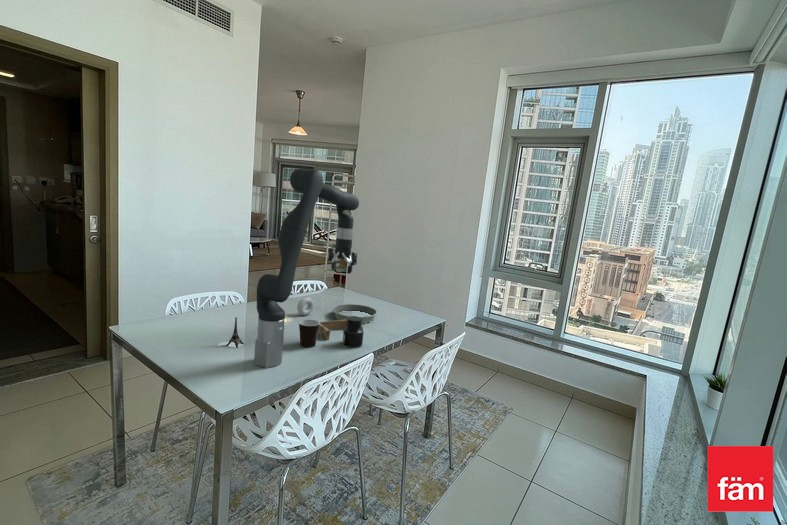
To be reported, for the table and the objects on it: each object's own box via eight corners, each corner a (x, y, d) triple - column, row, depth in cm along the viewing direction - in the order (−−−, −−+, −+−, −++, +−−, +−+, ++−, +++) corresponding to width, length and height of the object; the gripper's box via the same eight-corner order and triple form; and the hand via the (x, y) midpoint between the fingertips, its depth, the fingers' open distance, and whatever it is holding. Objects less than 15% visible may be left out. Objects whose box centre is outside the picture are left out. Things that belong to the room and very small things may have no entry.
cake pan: (370, 311, 221) (370, 304, 220) (382, 325, 198) (382, 317, 197) (328, 311, 213) (329, 303, 212) (335, 325, 190) (336, 316, 189)
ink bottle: (350, 338, 173) (352, 313, 171) (366, 343, 169) (369, 318, 167) (337, 344, 164) (340, 318, 162) (354, 350, 160) (357, 323, 158)
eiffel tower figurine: (249, 339, 162) (251, 309, 160) (257, 347, 154) (259, 316, 152) (212, 344, 152) (213, 312, 150) (218, 353, 144) (219, 320, 142)
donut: (299, 317, 195) (300, 299, 193) (295, 316, 197) (296, 297, 195) (314, 314, 202) (316, 297, 201) (310, 313, 204) (312, 295, 203)
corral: (362, 335, 178) (363, 326, 178) (326, 340, 168) (327, 330, 167) (350, 327, 188) (350, 318, 187) (315, 331, 178) (316, 322, 177)
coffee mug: (313, 350, 155) (314, 327, 154) (293, 346, 157) (295, 323, 156) (323, 340, 167) (325, 319, 165) (305, 337, 168) (307, 316, 167)
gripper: (327, 236, 174) (324, 270, 176) (353, 240, 168) (350, 275, 170) (336, 235, 180) (333, 268, 183) (361, 239, 175) (358, 273, 177)
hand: (341, 271), depth 176 cm, fingers open, 8 cm apart
